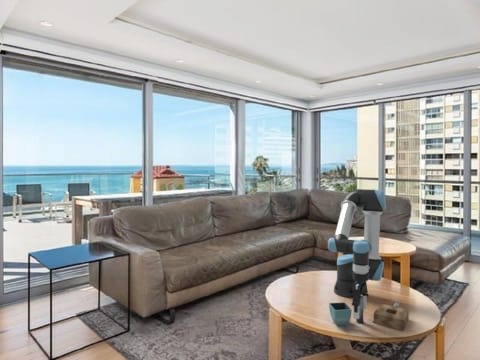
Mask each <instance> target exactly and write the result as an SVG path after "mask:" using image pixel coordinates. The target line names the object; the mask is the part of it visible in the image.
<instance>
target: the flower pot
mask: <svg viewBox="0 0 480 360" xmlns="http://www.w3.org/2000/svg"><path fill="white" fill-rule="evenodd" d="M328 305H329V306H328V307H329V314H330V317H331V319H332V321H333V322H334V324H335V325H336V327H338V326H339V327H340V326H347V325H348V324H349V323H350V321H351V317H352V312H353V311H352V308H351V307H350V306H349V304H348V303H346V302H345V301H344V302H341V301H340V302H328Z"/></svg>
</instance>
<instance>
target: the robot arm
mask: <svg viewBox="0 0 480 360" xmlns="http://www.w3.org/2000/svg"><path fill="white" fill-rule="evenodd" d="M386 204H387V202H386V196H385V192H384V190H380V189H364V188H363V189H360V188H357V189H353V190H351V191H349V192H348V193H346V195H344V197H343V198H342V200H341V202H340V208H341V209H340V213H339V217H338V219H337V220H338V221H337V224H336V228H335V233H334V237H330V238H329V239H328V241H327V243H328V244H327V247H328V248H327V249H328V251H330V252H331V253H332V252H333V253H341V254H342V255H339V256H338V257H337V261H336V281H335V284H334V287H333V292H334V293H335V295H338V296H340V297H345V298H352V303H351V306H353V311H352V312H353V313H352V317H353V319H355V320H356V319H359V302H360V296H363V297H364V309H367V297H368V296H369V293H368V292H369V291H368V283H367V282H368V281H374V282H379V281H381V279H382V277H383V272H384V266H385V263H384V261H382V257H381V256H380V233H381V232H380V231H381V230H380V227H381V225H380V224H381V215H383V213H384V210H386V209H387V205H386ZM357 209H362V212H363V214H364V229H363V230H364V231H363V236H364V237H363V239H360V240H357V239H356V240H355V239H349V237H350V234H351V229H352V223H353V219H354V215H355V212H356V211H357Z"/></svg>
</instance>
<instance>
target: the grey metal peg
mask: <svg viewBox="0 0 480 360" xmlns="http://www.w3.org/2000/svg"><path fill="white" fill-rule="evenodd" d="M364 309H365V308H364V297H363V296H360V302H359V319H356V318H355V320H356V323H358V324H361V325H362V324H364V317H365V316H364Z"/></svg>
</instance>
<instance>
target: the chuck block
mask: <svg viewBox="0 0 480 360" xmlns="http://www.w3.org/2000/svg"><path fill="white" fill-rule="evenodd" d="M400 302H401V301H399V300H395V302H394V304H393V305H389V304H385V303H382V302H381V303H379V304H378V306H377V307H376V308H375V310H374V312H373V324H377V325H380V326H384V327H389V328H393V329H396V330H400V331H403V330H404V329H405V330H406V326H407V324H408V321H409V316H410V314H409V312H410V311H409V309H407V308H402V307H400V305H401V303H400ZM405 330H404V331H405Z"/></svg>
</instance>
